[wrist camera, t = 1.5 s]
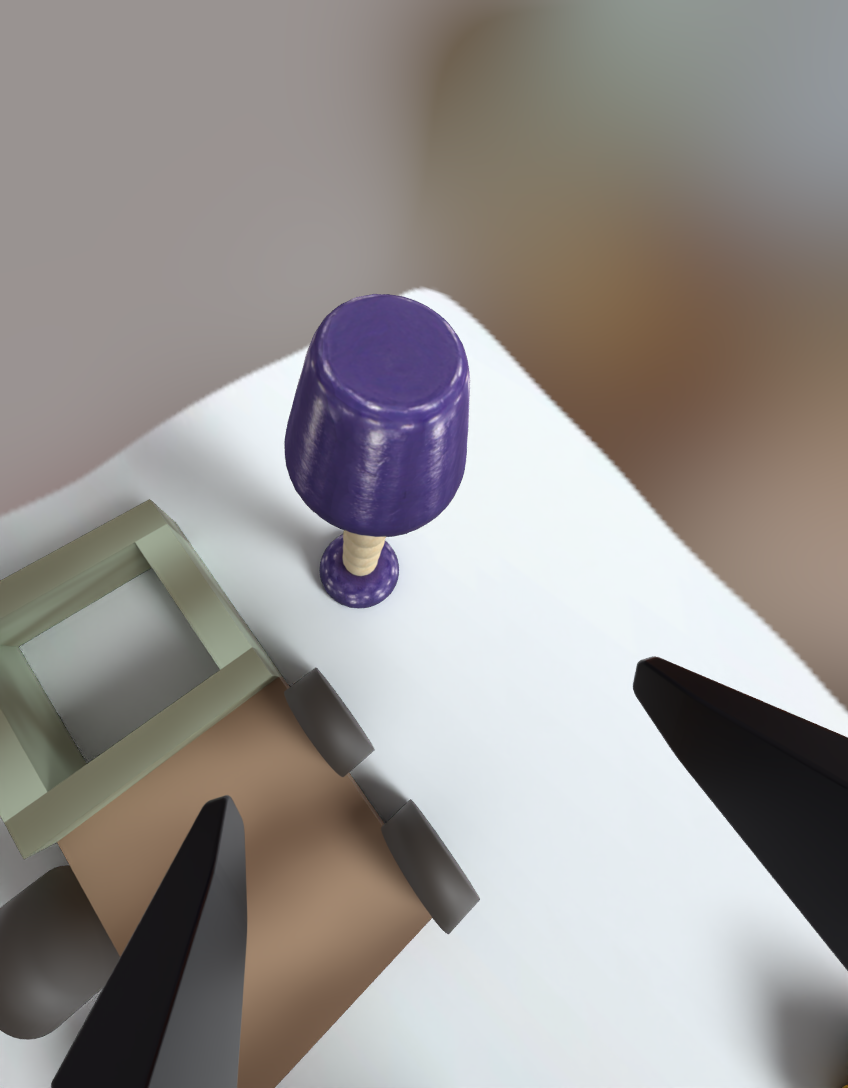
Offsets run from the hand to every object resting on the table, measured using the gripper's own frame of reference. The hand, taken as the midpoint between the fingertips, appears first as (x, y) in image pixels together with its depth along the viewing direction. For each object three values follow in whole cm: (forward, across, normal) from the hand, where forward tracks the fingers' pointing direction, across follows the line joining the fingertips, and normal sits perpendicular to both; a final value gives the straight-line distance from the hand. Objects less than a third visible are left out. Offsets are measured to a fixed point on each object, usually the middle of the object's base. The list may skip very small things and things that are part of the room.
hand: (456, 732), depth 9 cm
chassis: (+9, +9, +9) cm, 16 cm away
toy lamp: (+14, 0, +5) cm, 15 cm away
